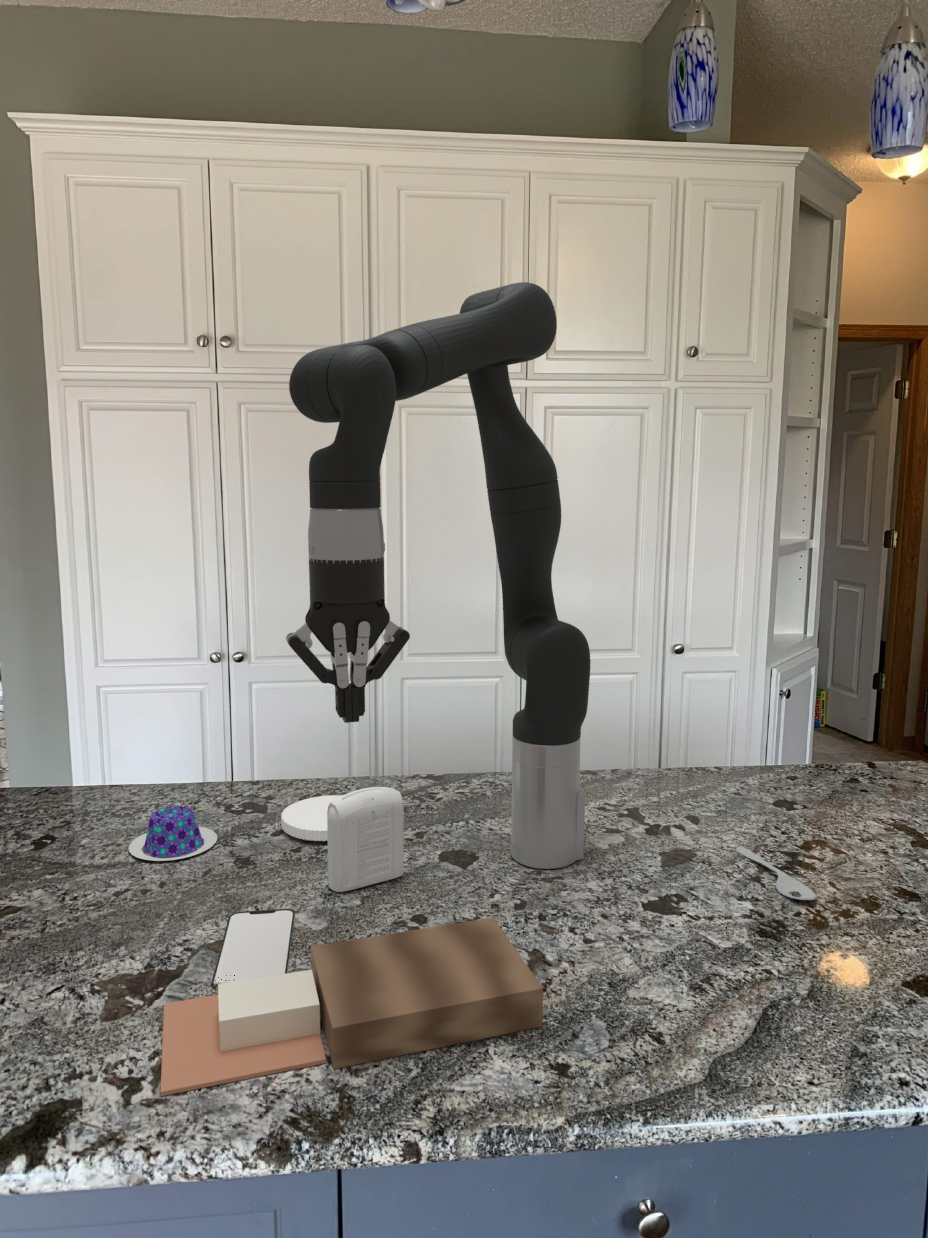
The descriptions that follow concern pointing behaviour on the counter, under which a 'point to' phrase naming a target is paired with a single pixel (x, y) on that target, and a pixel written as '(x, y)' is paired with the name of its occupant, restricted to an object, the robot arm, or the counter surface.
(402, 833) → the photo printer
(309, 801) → the plastic lid
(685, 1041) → the counter surface
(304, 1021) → the cream brick
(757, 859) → the spoon
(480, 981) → the deck
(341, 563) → the robot arm
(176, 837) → the purple patterned hat
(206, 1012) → the mat
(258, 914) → the smartphone
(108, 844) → the counter surface
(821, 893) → the counter surface
